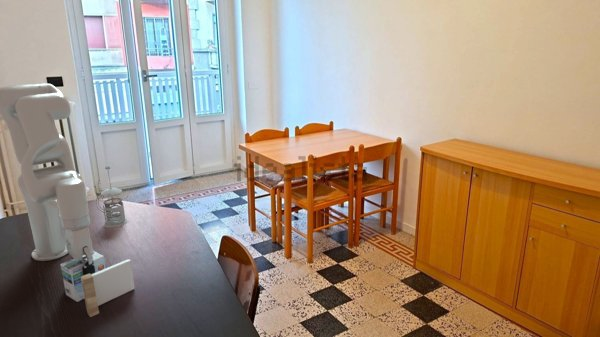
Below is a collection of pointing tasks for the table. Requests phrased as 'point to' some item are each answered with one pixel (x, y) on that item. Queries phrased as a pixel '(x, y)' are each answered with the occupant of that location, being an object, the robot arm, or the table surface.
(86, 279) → the tan wooden blocky piece
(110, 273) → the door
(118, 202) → the french press
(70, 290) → the light bulb box
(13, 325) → the table surface
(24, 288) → the table surface
